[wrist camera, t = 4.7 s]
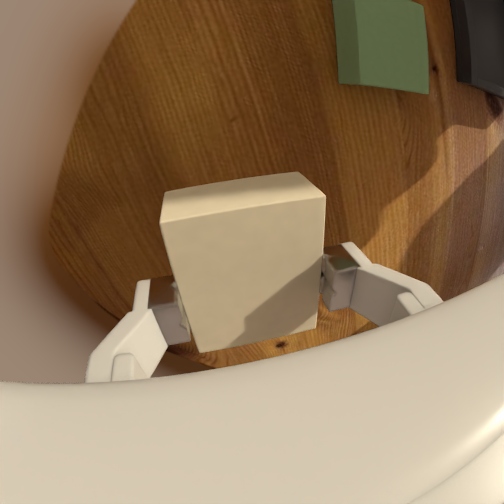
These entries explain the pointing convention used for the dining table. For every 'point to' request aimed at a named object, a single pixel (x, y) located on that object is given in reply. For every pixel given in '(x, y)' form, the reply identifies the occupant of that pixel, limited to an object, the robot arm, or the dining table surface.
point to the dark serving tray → (480, 44)
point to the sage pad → (382, 44)
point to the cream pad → (246, 257)
